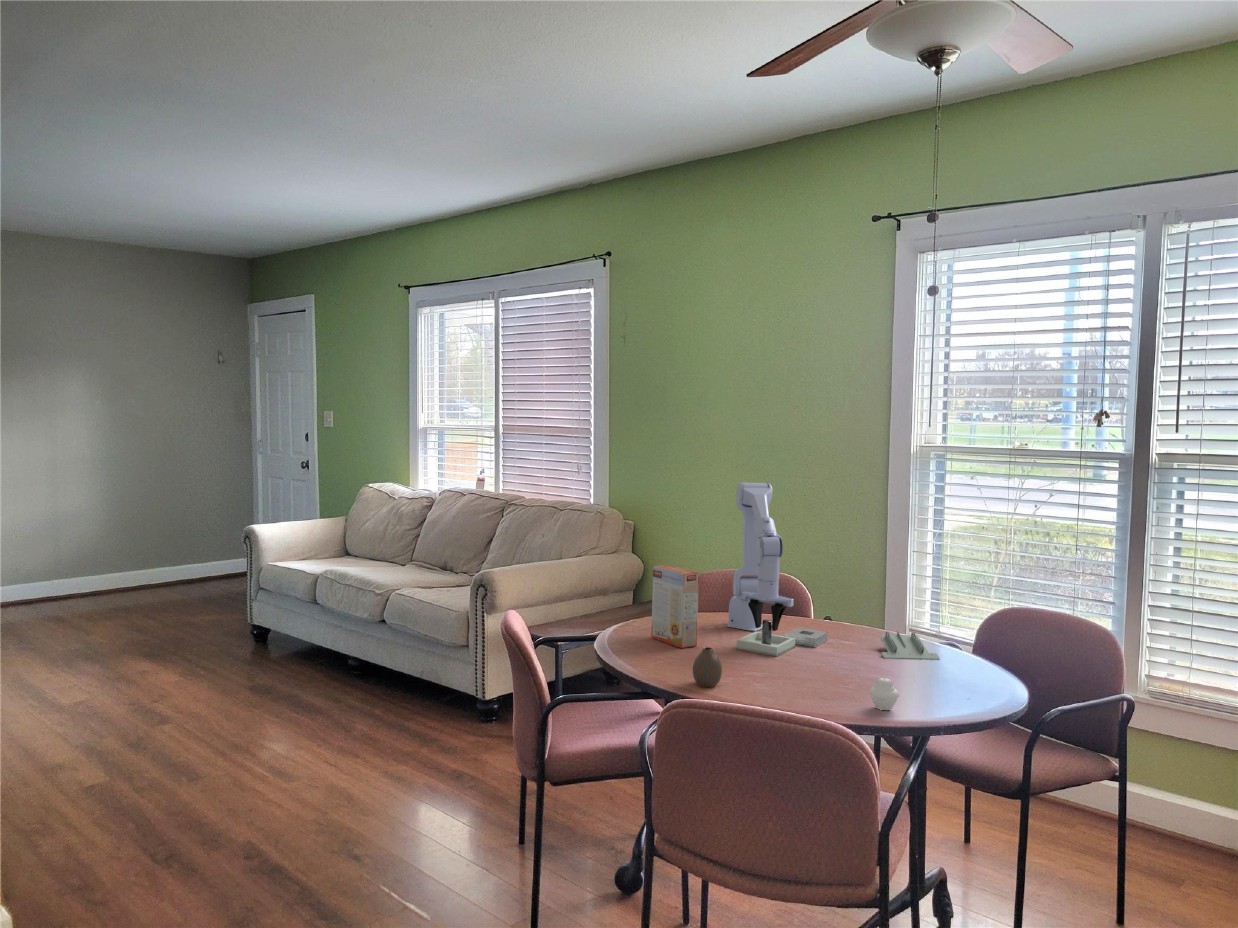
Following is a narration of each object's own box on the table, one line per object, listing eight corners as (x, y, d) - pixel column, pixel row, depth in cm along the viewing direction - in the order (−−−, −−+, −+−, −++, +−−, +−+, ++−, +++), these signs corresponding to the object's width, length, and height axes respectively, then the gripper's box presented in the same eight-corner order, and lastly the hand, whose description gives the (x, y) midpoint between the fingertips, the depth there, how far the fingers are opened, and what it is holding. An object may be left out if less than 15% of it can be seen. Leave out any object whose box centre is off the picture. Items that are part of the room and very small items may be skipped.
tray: (736, 648, 239) (736, 639, 238) (755, 639, 248) (755, 631, 248) (776, 656, 232) (777, 647, 232) (794, 647, 242) (795, 638, 242)
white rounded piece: (867, 710, 191) (869, 679, 190) (870, 702, 196) (871, 672, 196) (897, 715, 189) (898, 683, 188) (899, 706, 194) (900, 675, 194)
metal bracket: (871, 627, 244) (924, 628, 245) (868, 645, 246) (921, 646, 247) (886, 654, 231) (942, 656, 231) (883, 673, 233) (939, 674, 233)
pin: (759, 645, 240) (761, 620, 239) (764, 643, 242) (765, 619, 241) (767, 647, 238) (769, 622, 238) (772, 645, 240) (774, 620, 240)
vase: (713, 691, 202) (714, 654, 201) (687, 685, 205) (688, 649, 205) (726, 683, 207) (727, 647, 207) (700, 678, 211) (701, 642, 211)
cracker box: (698, 646, 240) (700, 571, 239) (680, 649, 237) (683, 573, 235) (667, 635, 252) (669, 563, 250) (650, 637, 248) (652, 565, 247)
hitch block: (785, 641, 247) (785, 633, 247) (797, 635, 254) (798, 627, 254) (815, 647, 242) (815, 638, 242) (827, 640, 249) (827, 632, 249)
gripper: (737, 578, 240) (736, 627, 241) (786, 585, 232) (785, 635, 232) (749, 574, 246) (747, 622, 246) (797, 581, 237) (795, 630, 238)
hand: (766, 628), depth 240 cm, fingers open, 4 cm apart
